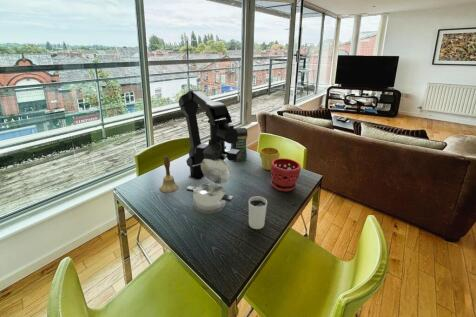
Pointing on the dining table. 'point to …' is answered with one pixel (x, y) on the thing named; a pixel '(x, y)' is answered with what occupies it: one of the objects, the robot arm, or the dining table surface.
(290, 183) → the plant pot
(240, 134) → the coffee jar
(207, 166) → the cooker lid
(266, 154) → the plant pot
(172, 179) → the hand bell
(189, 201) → the dining table surface
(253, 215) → the white cup
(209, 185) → the cooker pot
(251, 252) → the dining table surface
